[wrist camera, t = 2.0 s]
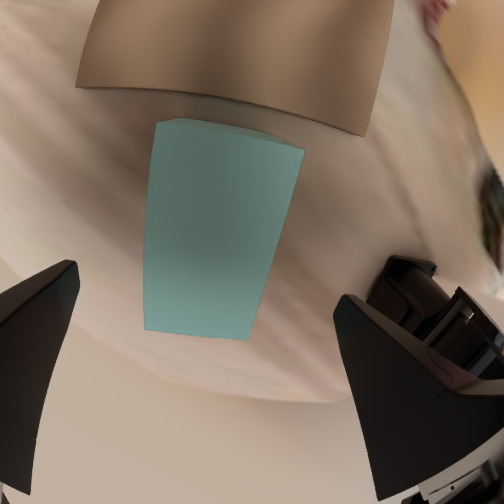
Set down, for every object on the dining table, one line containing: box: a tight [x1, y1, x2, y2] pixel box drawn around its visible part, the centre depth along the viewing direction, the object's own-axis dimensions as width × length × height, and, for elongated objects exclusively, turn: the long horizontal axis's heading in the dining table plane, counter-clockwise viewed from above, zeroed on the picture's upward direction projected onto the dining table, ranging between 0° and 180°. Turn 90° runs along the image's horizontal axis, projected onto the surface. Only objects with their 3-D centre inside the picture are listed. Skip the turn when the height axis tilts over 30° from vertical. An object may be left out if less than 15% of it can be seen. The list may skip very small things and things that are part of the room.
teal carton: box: [143, 118, 305, 340], centre depth 13 cm, size 5×9×7 cm, turn 167°
